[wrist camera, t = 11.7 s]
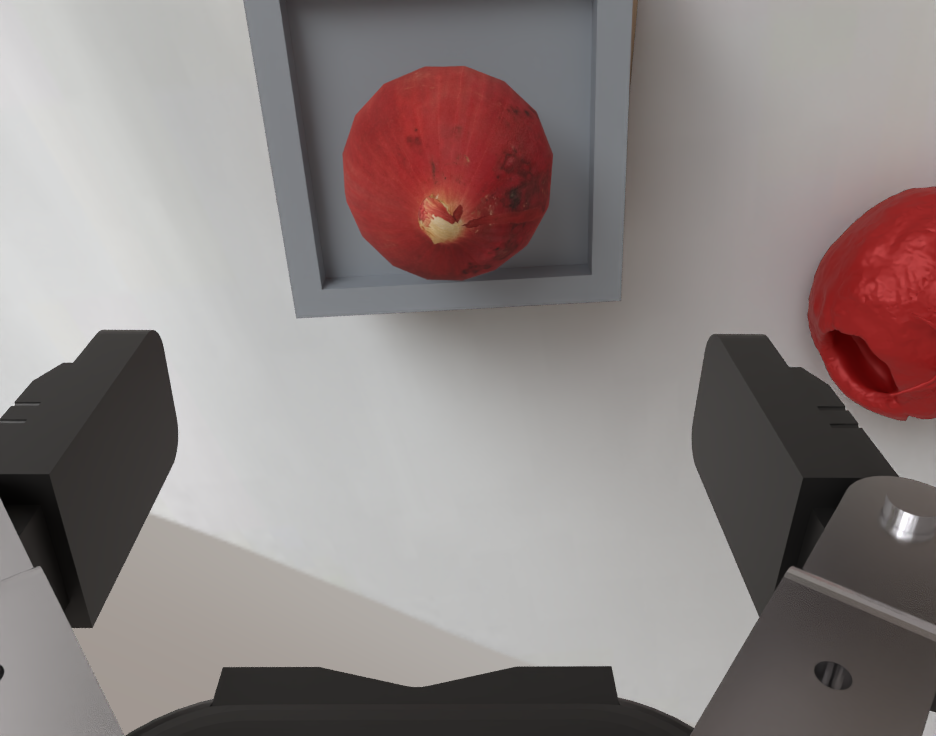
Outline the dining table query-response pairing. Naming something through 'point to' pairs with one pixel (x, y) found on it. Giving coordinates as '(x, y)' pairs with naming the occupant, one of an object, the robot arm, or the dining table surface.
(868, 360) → the pomegranate
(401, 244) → the onion
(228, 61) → the dining table surface
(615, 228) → the top block
